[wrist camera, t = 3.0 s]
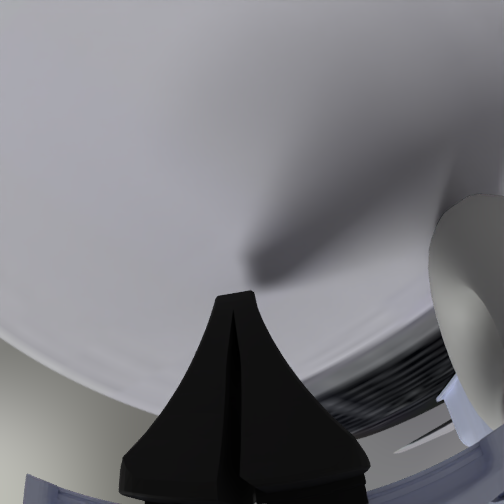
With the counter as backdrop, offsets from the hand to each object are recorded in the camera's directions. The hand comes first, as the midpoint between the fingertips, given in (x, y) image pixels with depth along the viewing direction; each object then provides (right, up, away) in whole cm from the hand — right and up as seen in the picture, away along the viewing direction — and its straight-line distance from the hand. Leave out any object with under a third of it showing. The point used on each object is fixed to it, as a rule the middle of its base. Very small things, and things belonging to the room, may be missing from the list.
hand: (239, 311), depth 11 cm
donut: (+9, +3, +1) cm, 10 cm away
